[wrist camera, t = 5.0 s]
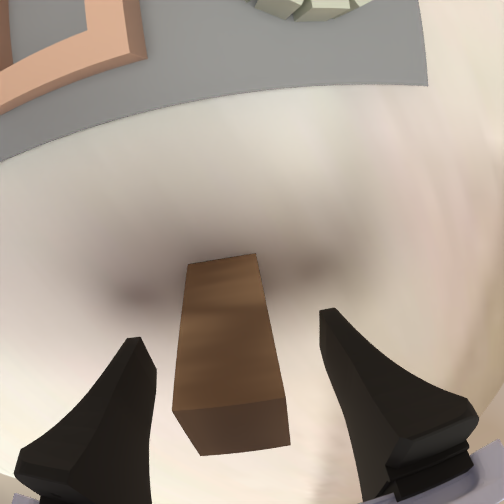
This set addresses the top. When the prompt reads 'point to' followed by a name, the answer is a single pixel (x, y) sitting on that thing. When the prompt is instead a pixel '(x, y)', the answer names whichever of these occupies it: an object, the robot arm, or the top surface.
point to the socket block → (187, 55)
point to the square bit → (228, 362)
